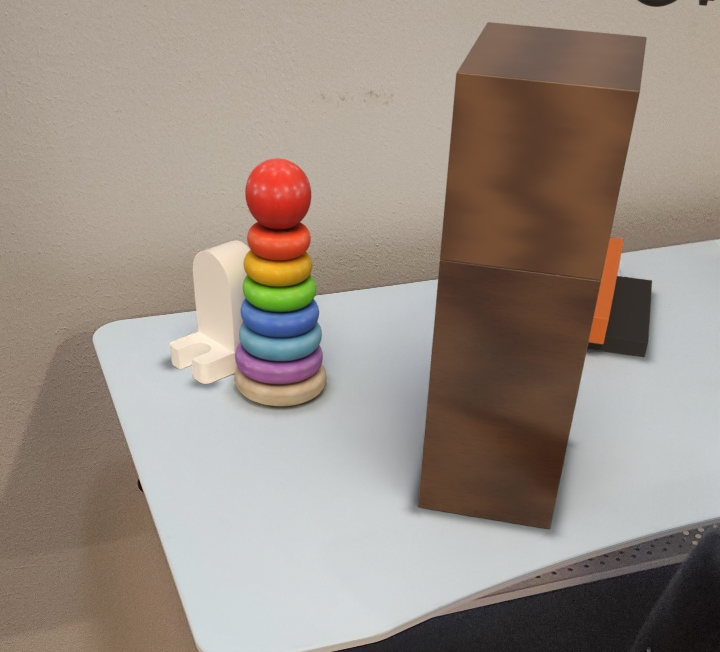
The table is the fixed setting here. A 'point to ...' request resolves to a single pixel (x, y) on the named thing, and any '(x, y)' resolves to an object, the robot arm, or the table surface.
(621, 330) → the rubber mat
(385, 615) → the table surface
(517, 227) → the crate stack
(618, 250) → the orange bar
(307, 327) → the stacking toy
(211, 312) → the cable organizer
